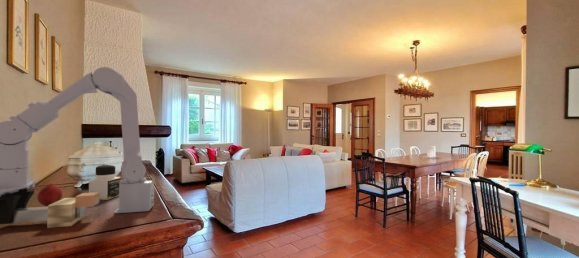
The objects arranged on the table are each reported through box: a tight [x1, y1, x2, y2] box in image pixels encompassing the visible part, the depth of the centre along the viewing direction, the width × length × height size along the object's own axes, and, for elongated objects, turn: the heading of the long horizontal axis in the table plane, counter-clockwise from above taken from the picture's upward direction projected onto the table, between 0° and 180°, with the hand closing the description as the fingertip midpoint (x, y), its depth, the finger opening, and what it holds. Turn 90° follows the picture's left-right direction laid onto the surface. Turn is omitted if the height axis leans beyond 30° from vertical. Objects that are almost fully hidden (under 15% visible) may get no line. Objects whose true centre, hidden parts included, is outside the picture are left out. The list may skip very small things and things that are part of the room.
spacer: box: [74, 192, 100, 208], centre depth 71 cm, size 4×4×3 cm
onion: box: [37, 181, 63, 207], centre depth 83 cm, size 6×6×8 cm
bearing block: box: [46, 197, 86, 229], centre depth 70 cm, size 5×8×6 cm, turn 17°
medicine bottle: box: [88, 164, 122, 201], centre depth 96 cm, size 7×7×12 cm
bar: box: [9, 206, 86, 225], centre depth 69 cm, size 15×3×3 cm, turn 107°
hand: (11, 221), depth 66 cm, fingers closed on bar, 3 cm apart
